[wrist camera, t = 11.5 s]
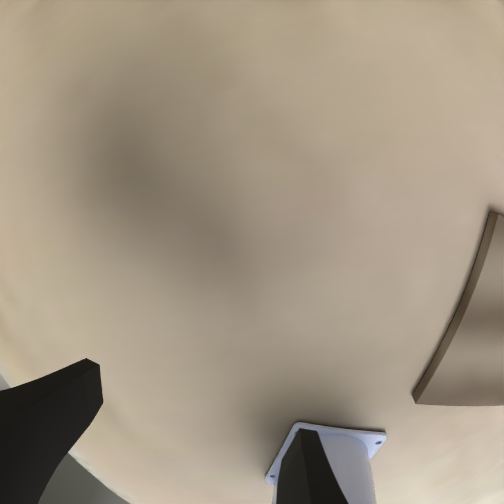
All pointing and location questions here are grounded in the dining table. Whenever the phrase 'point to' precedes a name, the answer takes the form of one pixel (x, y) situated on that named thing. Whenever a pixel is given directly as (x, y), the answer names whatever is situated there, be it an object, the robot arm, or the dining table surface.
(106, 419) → the dining table surface
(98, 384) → the robot arm
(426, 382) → the subfloor panel
